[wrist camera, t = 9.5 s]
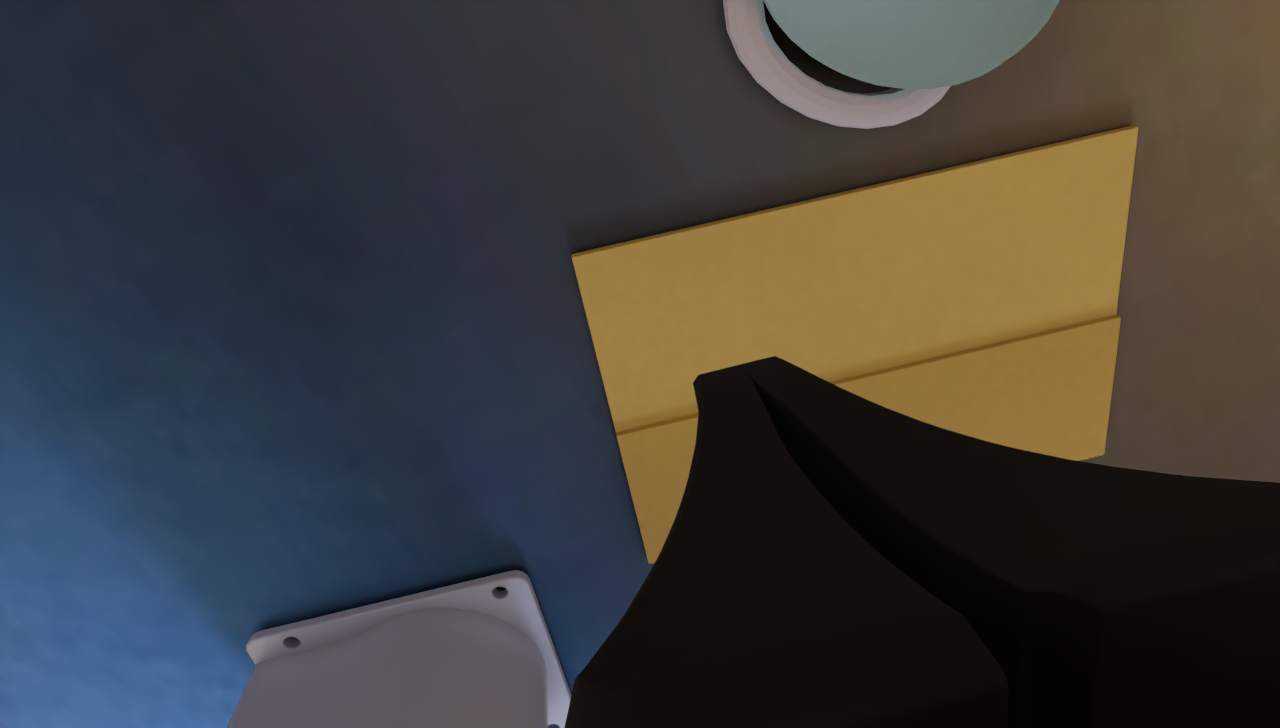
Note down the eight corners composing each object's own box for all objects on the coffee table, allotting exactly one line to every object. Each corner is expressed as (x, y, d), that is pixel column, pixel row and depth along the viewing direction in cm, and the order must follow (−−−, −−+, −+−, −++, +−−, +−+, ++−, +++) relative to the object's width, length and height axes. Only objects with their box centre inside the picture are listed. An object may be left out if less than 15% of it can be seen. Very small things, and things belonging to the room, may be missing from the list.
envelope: (647, 556, 24) (649, 566, 23) (570, 254, 19) (571, 258, 19) (1093, 449, 24) (1104, 457, 24) (1131, 125, 19) (1144, 127, 19)
